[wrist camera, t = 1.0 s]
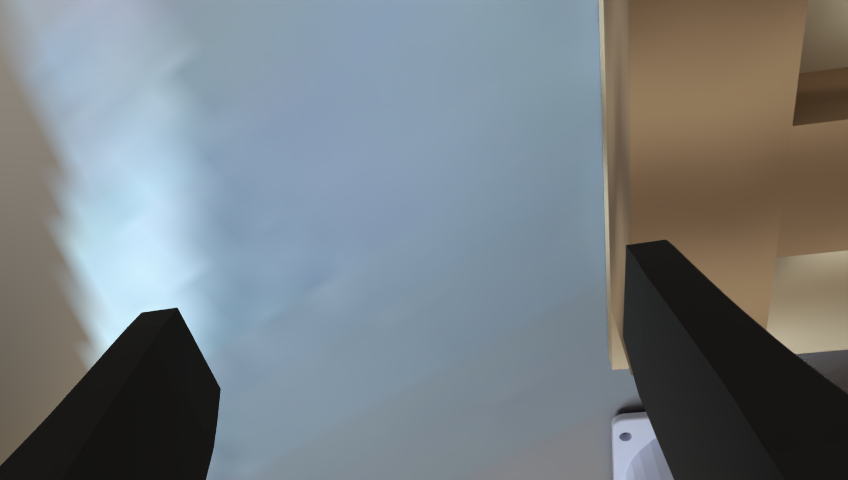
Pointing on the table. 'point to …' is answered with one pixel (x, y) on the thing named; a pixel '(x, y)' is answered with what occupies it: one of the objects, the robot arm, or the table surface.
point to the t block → (721, 141)
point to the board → (795, 275)
